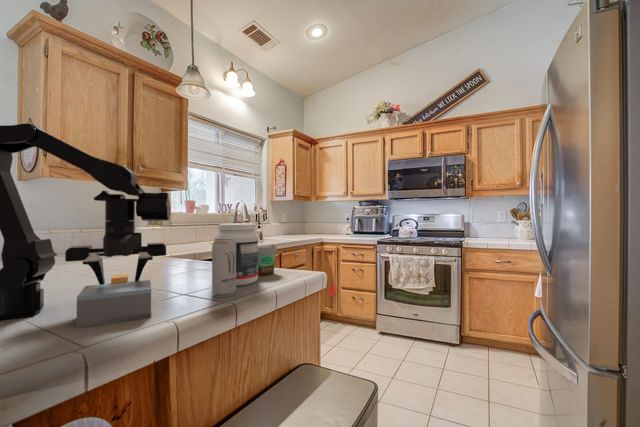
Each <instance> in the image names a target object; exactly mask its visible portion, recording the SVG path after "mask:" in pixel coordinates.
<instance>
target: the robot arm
mask: <svg viewBox="0 0 640 427" xmlns="http://www.w3.org/2000/svg"><path fill="white" fill-rule="evenodd" d="M32 148H38V149H39V150H42V151H44V152H46V153H47V154H50V155H52V156H54V157H56V158H58V159H60V160H62V161H64V162H66V163H68V164H70V165H72V166H74V167H75V168H78V169H80V170H82V171H84V172H86V173H87V174H88V175H89V176H91V177H92V178H94V180H95V181H97V182H98V183H100V184H101V185H103V186H104V187H105V188H107V189H108V190H111V191H115V192H119V193H109V191H107V190H104V189H103V190H101V191H100V193H99V194H97V195H96V196H94V197H93V200H94V201H98V202H104V206H105V208H104V220H105V221H104V236H103V239H102V247H98V248H95V247H94V248H93V245H73V246H70V247H68V248H67V249H66V250H65V254H64V255H65V256H64V258H65V262H82V265H88V266H89V267H90V268H91V270H92V271H93V272H94V275H95V277H96V279H97V282H98V285H101V284H106V280H105V273H104V272H105V271H104V265H103V264H104V262H103V257H106V258H112V257H117V256H123V257H128V256H130V255H138V257H137V258H138V259H137V263H136V270H135V276H134V281H140V278H141V275H142V273H143V270H144V268H145V266H146V264H147V263H148V261H152V260H154V259H153V258H154V257H166V256H167V245H166V244H165V243H164V242H147V244H146V245H143V244H142V242H143V239H142V238H143V237H142V234H143V233H142V232H136V230H135V229H136V228H135V227H136V224H135V222H136V216H137V217H139V218H140V219H141V221H144V222H145V221H147V222H148V221H149V222H151V221H152V222H155V221H157V222H159V221H160V222H161V221H164V222H165V221H170V220H171V216H172V215H171V214H172V213H171V212H172V206H171V205H170V204H171V203H170V194H169V192H165V191H164V192H145V190H144V189H143V188H142V187H141V185H139V183H138V177H137V174H136V173H135V172H134V171H133V170H131V169H128V168H127V167H124V166H123V165H120V164H117V163H113V162H111V161H108V160H106V159H105V160H104V159H103V158H102V159H101V158H98V157H95V156H93V155H91V154H89V153H87V152H85V151H83V150H81V149H79V148H77V147H76V146H74V145H71V144H69V143H67V142H66V141H63V140H62V139H59V138H58V137H55V136H53V135H52V134H50V133H48V132H46V130H44V129H43V128H40V127H39V126H36V125H34V124H31V123H26V122H25V123H18V124H13V125H12V124H11V125H10V124H9V125H0V233H1V236H2V238H3V244H2V250H1V253H0V254H1V255H0V257H1V263H2V267H1V269H0V321H1V320H2V321H3V320H10V319H19V318H24V317H25V318H26V317H31V316H36V315H37V314H38V313H39V312H40V311H41V310H42V309H43V308H44V307H45V304H44V302H45V295H44V294H45V289H44V288H41V281H44V278H45V277H46V274H47V273H48V272H50V271H51V270H52V269H53V267H54V265H55V264H56V259H55V257H57V256H58V254H57V252H55V250H54V249H53V245H52V240H51V239H50V238H45V239H41V238H40V237H39V236H38V235H37V234H36V233H35V231H34V228H33V227H32V226H33V225H32V223H31V221H30V219H29V216H28V213H27V211H26V208H25V205H24V203H23V200H22V198H21V196H20V194H19V191H18V188H17V185H16V183H15V180H14V178H13V176H12V173H11V172H12V171H11V169H12V165H13V164H12V163H13V160H14V159H13V154H15V153H16V154H17V153H20V152H23V151H26V150H29V149H32ZM123 193H125V194H123ZM126 195H129V196H133V197H136V198H126ZM135 215H136V216H135Z"/></svg>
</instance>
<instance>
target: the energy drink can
mask: <svg viewBox="0 0 640 427" xmlns="http://www.w3.org/2000/svg"><path fill="white" fill-rule="evenodd" d="M211 245H212V247H211V248H212V249H211V250H212V251H211V255H212V256H211V260H212V261H211V262H212V263H211V265H212V266H211V271H212V272H211V283H212V284H211V293H212V294H213V295H214V297H215V298H229V297H233V296H234V295H235V292H236V291H237V286H236V243H235V241H234V238H233V237H220V238H216V237H215V238H214V241H213V243H212V244H211Z"/></svg>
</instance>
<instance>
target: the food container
mask: <svg viewBox="0 0 640 427" xmlns="http://www.w3.org/2000/svg"><path fill="white" fill-rule="evenodd" d="M277 252H278V248H277V245H276V244H271V246H267V247H266V246H265V247H264V246H263V247H262V246H261V247H258V276H260V277H268V276H269V275H270V276H273V275H274V272H275V264H276V263H275V262H276V253H277Z"/></svg>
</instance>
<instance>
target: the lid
mask: <svg viewBox="0 0 640 427" xmlns="http://www.w3.org/2000/svg"><path fill="white" fill-rule="evenodd" d="M151 284H152V283H151V279H143V280H139V281H135V280H134V281H133V280H132V281H129V274H128V273H121V274H120V273H119V274H112V275H111V278H110V283H105V284H101V285H100V284H93V285H85V286H84V287H83V289H81V291H80V293H79V294H78V295H77V296H76V302H77V301H83V300H91V299H100V298H109V297H118V296H126V295H135V294H144V293H151V294H152V286H151Z"/></svg>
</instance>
